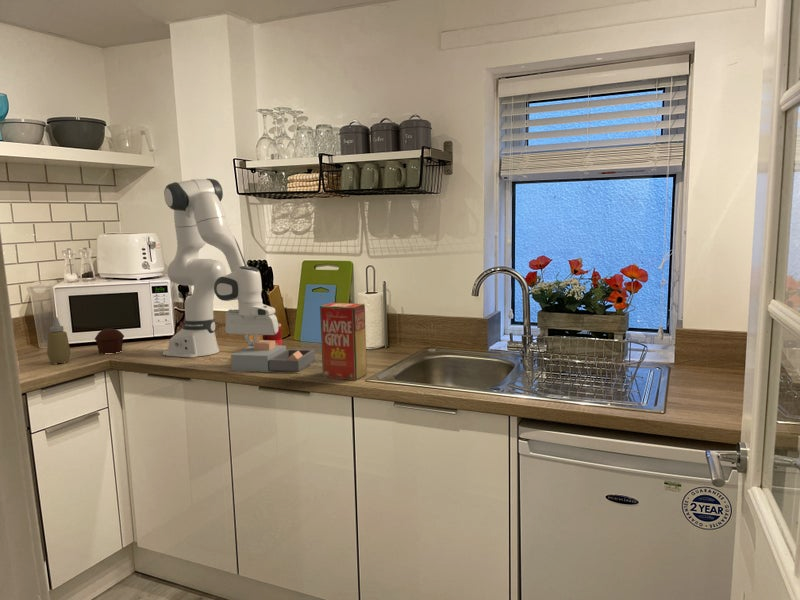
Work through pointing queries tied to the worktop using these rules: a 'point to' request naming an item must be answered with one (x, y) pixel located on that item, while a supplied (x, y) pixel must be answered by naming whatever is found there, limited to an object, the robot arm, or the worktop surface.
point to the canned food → (275, 336)
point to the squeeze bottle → (58, 344)
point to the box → (291, 361)
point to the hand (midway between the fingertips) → (252, 345)
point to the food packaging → (343, 341)
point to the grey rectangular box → (254, 358)
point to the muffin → (109, 341)
